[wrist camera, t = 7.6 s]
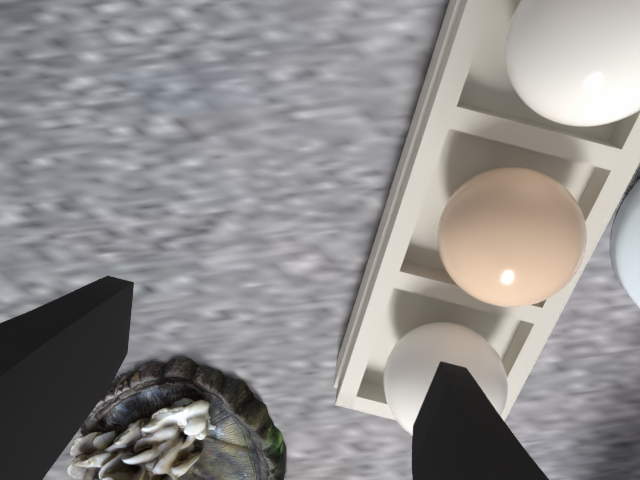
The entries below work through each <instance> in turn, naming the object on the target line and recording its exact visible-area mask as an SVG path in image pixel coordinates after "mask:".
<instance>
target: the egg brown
mask: <svg viewBox="0 0 640 480" xmlns="http://www.w3.org/2000/svg"><path fill="white" fill-rule="evenodd" d="M437 242H438V249H439V254H440V257H441V260H442V263H443V265H444V267H445V269H446V271H447V272H448V274H449V275H450V277H451V278H452V279H453V281H454V282H455V283H456V284H457V285H458V286H459V287H460V288H461V289H462V290H464V291H465V292H466V293H468V294H469V295H471V296H472V297H474V298H476V299H478V300H480V301H482V302H485V303H489V304H492V305H496V306H501V307H521V306H528V305H532V304H536V303H539V302H541V301H544V300H546V299H548V298H550V297H551V296H553V295H555V294H556V293H558V292H559V291H560V290H561V289H563V288H564V287H565V286H566V285H567V284H568V283H569V282H570V281H571V279H572V278H573V277H574V275H575V274H576V272H577V271H578V269H579V267H580V265H581V263H582V260H583V257H584V254H585V250H586V243H587V233H586V224H585V219H584V217H583V214H582V211H581V209H580V207H579V205H578V203H577V201H576V200H575V198H574V197H573V196H572V195H571V193H570V192H569V191H568V190H567V189H566V188H565V187H564V186H563V185H562V184H561V183H559V182H558V181H556V180H555V179H553V178H552V177H550V176H548V175H546V174H544V173H542V172H539V171H536V170H533V169H529V168H524V167H501V168H496V169H491V170H488V171H485V172H482V173H480V174H478V175H476V176H474V177H472V178H471V179H469V180H468V181H466V182H465V183H464V184H462V185H461V186H460V187H459V188H458V189H457V190H456V191H455V192H454V194H453V195H452V196H451V197H450V199H449V200H448V202H447V203H446V205H445V207H444V209H443V211H442V214H441V217H440V220H439V225H438V232H437Z"/></svg>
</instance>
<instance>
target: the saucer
mask: <svg viewBox="0 0 640 480" xmlns="http://www.w3.org/2000/svg"><path fill="white" fill-rule="evenodd" d="M610 257H611V262H612V267H613V270H614V272H615V275H616V277H617V279H618V281H619V283H620V284H621V286H622V287H623V288H624V290H625V291H626V292H627V293H628V295H629V296H630V297H631V298H632V299H633V301H634V302H635V303H636V304H637V305H638V307H639V308H640V179H639V180H638V181H637V182H636V183H635V185H634V186H633V187H632V189H631V190H630V191H629V192H628V194H627V196H626V197H625V199H624V201H623V202H622V204H621V206H620V208H619V210H618V213H617V215H616V217H615V220H614V224H613V227H612V231H611V238H610Z"/></svg>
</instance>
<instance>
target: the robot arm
mask: <svg viewBox="0 0 640 480" xmlns="http://www.w3.org/2000/svg"><path fill="white" fill-rule="evenodd" d="M133 286H134V282H130V281H126V280H122V279H118V278H114V277H110V276H106V277H104V278H101V279H99V280H97V281H95V282H92V283H90V284H88V285H86V286H84V287H82V288H80V289H77V290H75V291H73V292H71V293H69V294H67V295H65V296H63V297H60V298H58V299H56V300H54V301H52V302H49V303H47V304H45V305H43V306H40V307H38V308H36V309H34V310H32V311H29V312H27V313H25V314H22V315H20V316H17V317H15V318H12V319H10V320H7V321H5V322H2V323H0V480H43V478H44V477H45V475H46V474H47V472H48V471H49V469H50V468H51V467H52V465H53V464H54V463H55V461H56V460H57V459H58V457H59V456H60V454H61V453H62V452H63V450H64V449H65V448H66V446H67V445H68V444H69V442H70V441H71V440H72V438H73V437H74V435H75V434H76V433H77V431H78V430H79V429H80V427H81V426H82V425H83V423H84V422H85V420H86V419H87V418H88V416H89V415H90V414H91V412H92V411H93V409H94V408H95V407H96V405H97V404H98V402H99V401H100V400H101V398H102V397H103V395H104V394H105V393H106V391H107V390H108V388H109V386H110V384H111V383H112V381H113V379H114V377H115V375H116V374H117V372H118V370H119V368H120V366H121V364H122V362H123V361H124V359H125V357H126V355H127V352H128V341H129V330H130V319H131V308H132V297H133ZM412 475H413V480H549V479H548V478H547V477H546V475H545V474H544V473H543V472H542V470H541V469H540V468H539V467H538V465H537V464H536V463H535V462H534V461H533V459H532V458H531V457H530V456H529V454H528V453H527V452H526V450H525V449H524V448H523V446H522V445H521V444H520V443H519V441H518V440H517V439H516V437H515V436H514V434H513V433H512V432H511V430H510V429H509V428H508V426H507V425H506V423H505V422H504V421H503V419H502V418H501V416H500V415H499V414H498V412H497V411H496V409H495V408H494V406H493V405H492V403H491V402H490V401H489V399H488V398H487V396H486V395H485V393H484V392H483V390H482V389H481V388H480V386H479V385H478V383H477V382H476V380H475V379H474V377H473V376H472V375H471V373H470V372H469V371H468V369H467V368H466V367H462V366H458V365H454V364H450V363H446V362H442V361H440V363H439V366H438V368H437V370H436V373H435V375H434V377H433V380H432V382H431V384H430V387H429V389H428V392H427V394H426V396H425V399H424V401H423V403H422V406H421V408H420V410H419V413H418V415H417V418H416V420H415V422H414V425H413V437H412Z"/></svg>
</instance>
